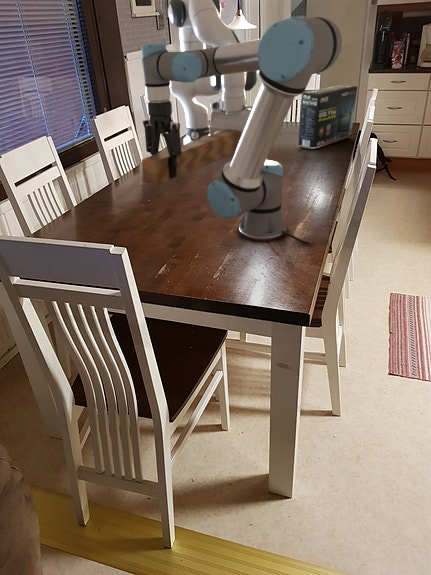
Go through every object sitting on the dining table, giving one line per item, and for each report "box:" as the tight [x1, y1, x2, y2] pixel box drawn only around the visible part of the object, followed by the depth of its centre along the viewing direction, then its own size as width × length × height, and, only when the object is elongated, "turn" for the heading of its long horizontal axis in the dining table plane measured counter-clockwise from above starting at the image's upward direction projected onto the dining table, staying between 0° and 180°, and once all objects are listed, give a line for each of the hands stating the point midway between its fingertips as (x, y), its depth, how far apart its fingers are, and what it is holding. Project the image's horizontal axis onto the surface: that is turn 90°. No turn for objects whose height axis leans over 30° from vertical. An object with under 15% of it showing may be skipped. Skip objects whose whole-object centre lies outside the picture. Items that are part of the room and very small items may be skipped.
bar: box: [141, 130, 242, 186], centre depth 163 cm, size 55×6×7 cm, turn 144°
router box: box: [297, 84, 358, 151], centre depth 238 cm, size 36×11×27 cm, turn 134°
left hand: (234, 142), depth 178 cm, fingers closed on bar, 5 cm apart
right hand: (165, 175), depth 151 cm, fingers closed on bar, 6 cm apart
